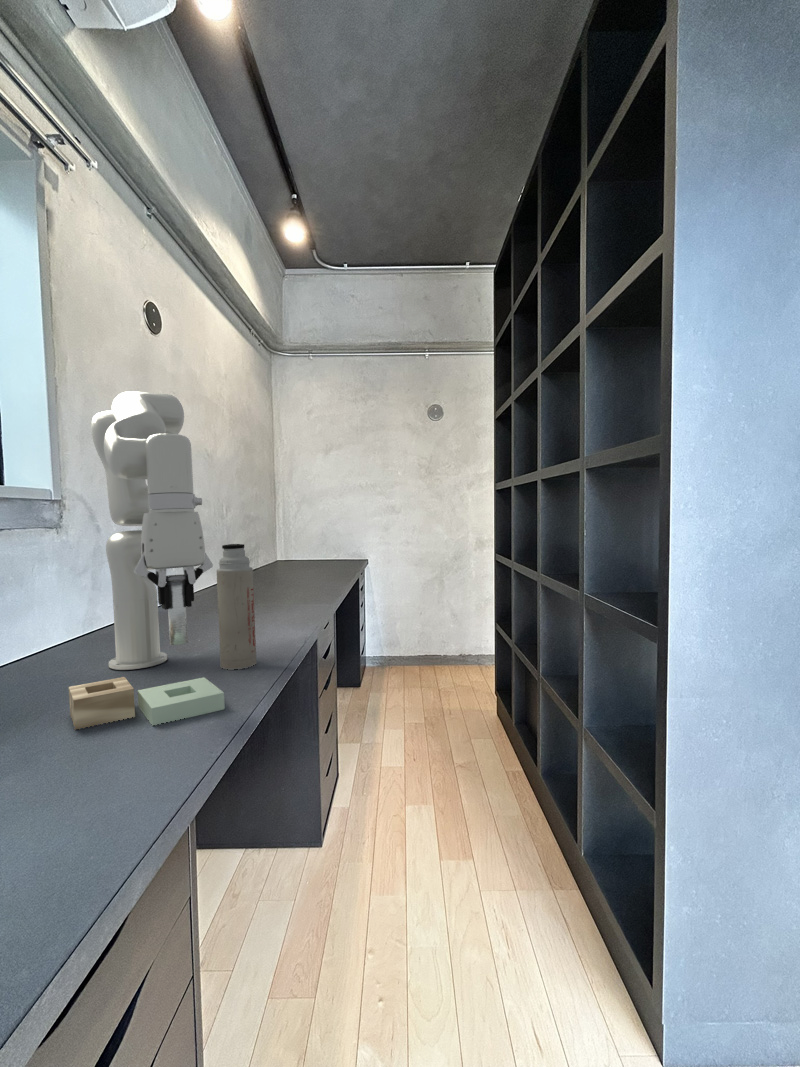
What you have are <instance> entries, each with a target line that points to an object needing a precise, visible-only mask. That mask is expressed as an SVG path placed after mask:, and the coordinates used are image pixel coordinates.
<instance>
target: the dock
mask: <svg viewBox="0 0 800 1067" xmlns="http://www.w3.org/2000/svg"><path fill="white" fill-rule="evenodd" d="M137 707H138V708H139V709H140V711H141V712H142V714H143V715H144V717H145V718H146V719H147V721H148V720H149V721H148V722H149V723H150V725H151V724H152V725H151V726H152V727H153V725H155V726H158V725H157V724H159V725H162V724H161V723H164V724H167V723H166V722H168V723H171V722H170V721H172V722H176V721H180V719H181V720H185V719H189V718H193V717H198V716H202V715H206V714H210V713H214V712H218V711H222V710H223V711H224V710H225V709H226V706H225V692H223V690H221V688H218V686H217V685H215V684H213V683H212V682H211V681H210V680H208V679H207V678H206V677H203V676H202V677H199V678H195V679H189V680H184V681H183V680H182V681H178V682H173V683H167V684H163V685H158V686H153V687H147V688H143V689H138V690H137ZM184 718H185V719H184ZM175 720H176V721H175Z"/></svg>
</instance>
